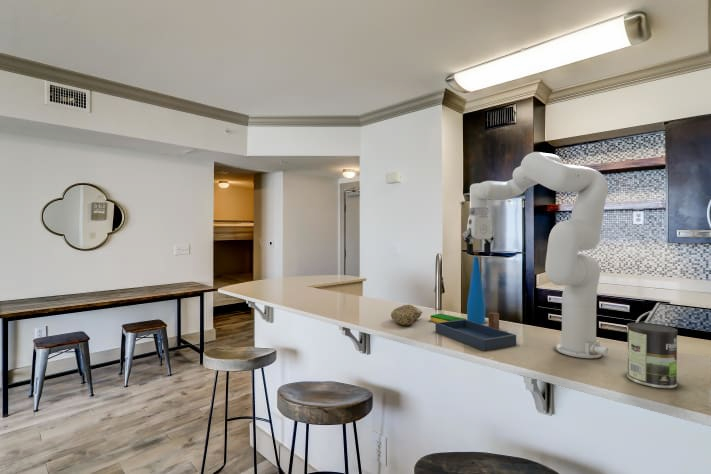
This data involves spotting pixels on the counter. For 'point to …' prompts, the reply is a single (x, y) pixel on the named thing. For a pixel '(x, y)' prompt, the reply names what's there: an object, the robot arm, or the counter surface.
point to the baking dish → (476, 334)
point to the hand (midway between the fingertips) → (478, 252)
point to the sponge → (406, 314)
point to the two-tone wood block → (494, 321)
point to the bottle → (476, 296)
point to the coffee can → (652, 354)
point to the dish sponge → (443, 318)
